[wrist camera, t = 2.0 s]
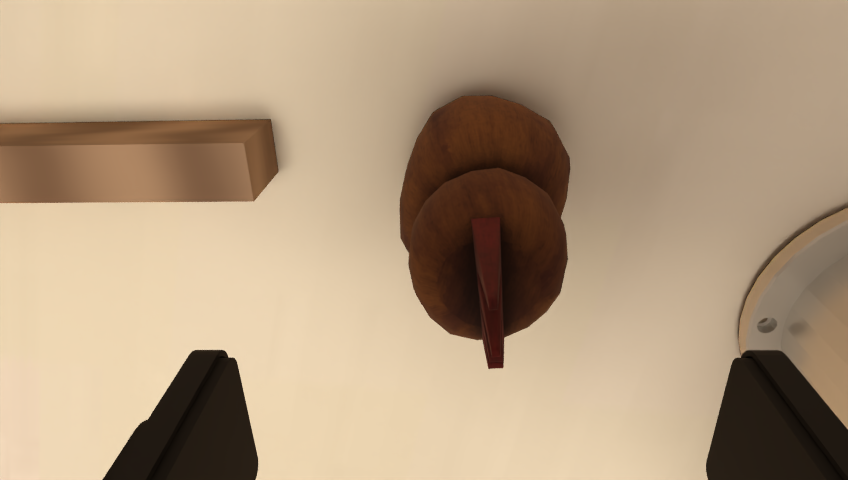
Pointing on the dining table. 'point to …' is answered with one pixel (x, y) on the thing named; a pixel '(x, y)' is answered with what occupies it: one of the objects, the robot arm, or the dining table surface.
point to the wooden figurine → (486, 218)
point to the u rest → (136, 161)
